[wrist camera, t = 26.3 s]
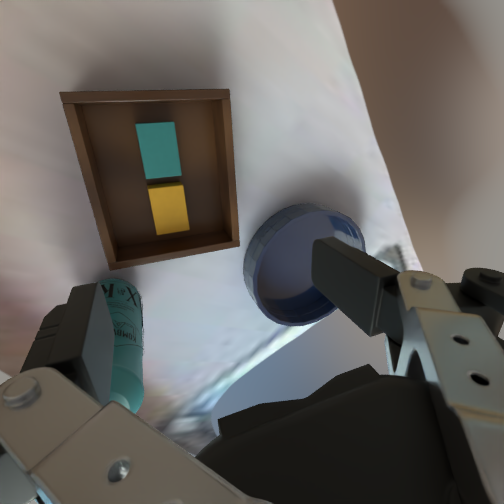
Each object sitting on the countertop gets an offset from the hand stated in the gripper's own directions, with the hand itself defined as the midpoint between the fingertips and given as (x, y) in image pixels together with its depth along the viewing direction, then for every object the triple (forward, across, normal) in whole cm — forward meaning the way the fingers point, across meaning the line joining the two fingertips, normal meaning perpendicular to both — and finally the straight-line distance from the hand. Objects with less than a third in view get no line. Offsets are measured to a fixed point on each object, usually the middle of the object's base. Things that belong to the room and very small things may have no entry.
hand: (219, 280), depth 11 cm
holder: (+24, 0, 0) cm, 24 cm away
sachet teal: (+24, 0, -3) cm, 24 cm away
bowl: (+24, -17, +14) cm, 33 cm away
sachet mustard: (+24, 0, +3) cm, 24 cm away
